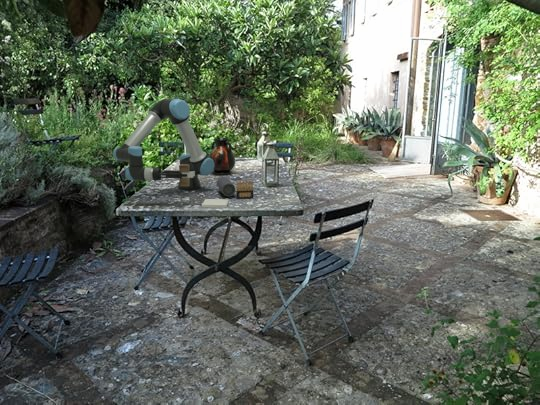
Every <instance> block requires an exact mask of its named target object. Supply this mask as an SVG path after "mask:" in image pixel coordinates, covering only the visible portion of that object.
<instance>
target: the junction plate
mask: <svg viewBox="0 0 540 405" xmlns="http://www.w3.org/2000/svg"><path fill="white" fill-rule="evenodd" d="M229 202H230V199H229V198H228V199H227V198H226V199H224V198H220V199H219V198H217V199H215V198H205V199H204V201H203V202H202V204H201V208H211V209H212V208H219V209H220V208H221V209H222V208H227V206H229V205H228V204H229Z"/></svg>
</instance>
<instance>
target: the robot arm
mask: <svg viewBox="0 0 540 405" xmlns="http://www.w3.org/2000/svg"><path fill="white" fill-rule="evenodd" d="M190 110H191V109H190V105H189V104H188V103H187V102H186V101H185V100H183V99H179V98H162V99H160V100H158V101H157V102H156V103H155V104H154V105H152V106H151V108H150V109H149V110H148V111H147V115H146V117H145V118H144V119H143V120H142V121H141V122H140V124H139V125H138V126H137V127H136V128H135V130H134V131H133V132H132V133H131V134H130V135H129V136H128V138H127V139H126V140H125V141H124V142H123V143H122V145H121V146H119V147H116V148H114V149H113V151H112V156H113V158H114V159H115V160H118V161H120V162H125V163H126V162H127V163H128V167H126V169H125V171H124V172H125V174H124V175H125V178H126V180H128V181H148V182H150V181H152V182H153V181H154V182H155V181H159V182H160V181H161V180H162V179H179V182H178V184H177V188H178V189H179V190H183V191H185V190H187V191H189V190H191V191H192V190H193V191H194V190H198V189H201V186H202V185H201V182H200V179H199V175H200V176H210V175H211V174H212V172H213V170H214V161H213V160H212V159H211V158H209V155H208V154H207V152H205V151H203V149H202V146H201V144H200V142H199V140H198V138H197V136H196V133H195V132H194V129H193V127H192V125H191V122H190V120H189V119H190ZM165 119H169V121H170V123H171V125H173V126H175V127H176V129H177V132H178V134H179V136H180V137H181V140H182V142H183V144H184V146H185V148H186V150H187V154H181V155H180V156H179V165H180V164H189V171H190V173H182V174H181V173H179V170H172V169H171V170H169V169H167V170H165V169H164V170H162V168H160V167H152V166H151V167H147V166H145V167H144V166H143V160H144V159H143V148H142V147H141V146H140V145H141V144H142V143H143V141H144V140H145V139H146V138H147V137H148V136H149V134H150V133H151V132H152V131H153V129H154V128H155V127H156V125H158V124H160V123H162V121H163V120H165ZM181 177H182V178H190V185H189V186H180V179H182V178H181Z"/></svg>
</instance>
